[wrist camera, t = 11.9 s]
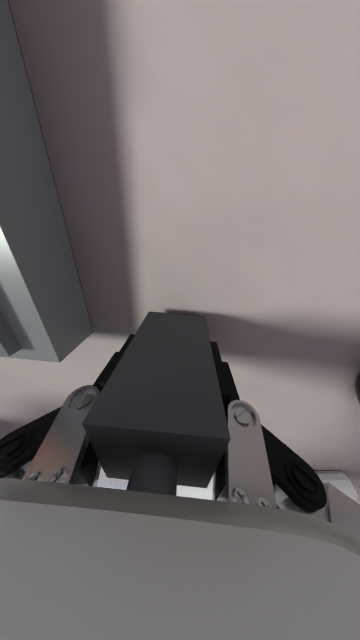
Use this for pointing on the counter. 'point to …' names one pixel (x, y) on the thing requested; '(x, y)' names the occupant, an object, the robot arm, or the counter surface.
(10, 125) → the socket block
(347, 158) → the counter surface
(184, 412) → the plug
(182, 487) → the frying pan
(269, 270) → the counter surface
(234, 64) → the counter surface
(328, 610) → the robot arm
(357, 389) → the spread jar
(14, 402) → the counter surface
